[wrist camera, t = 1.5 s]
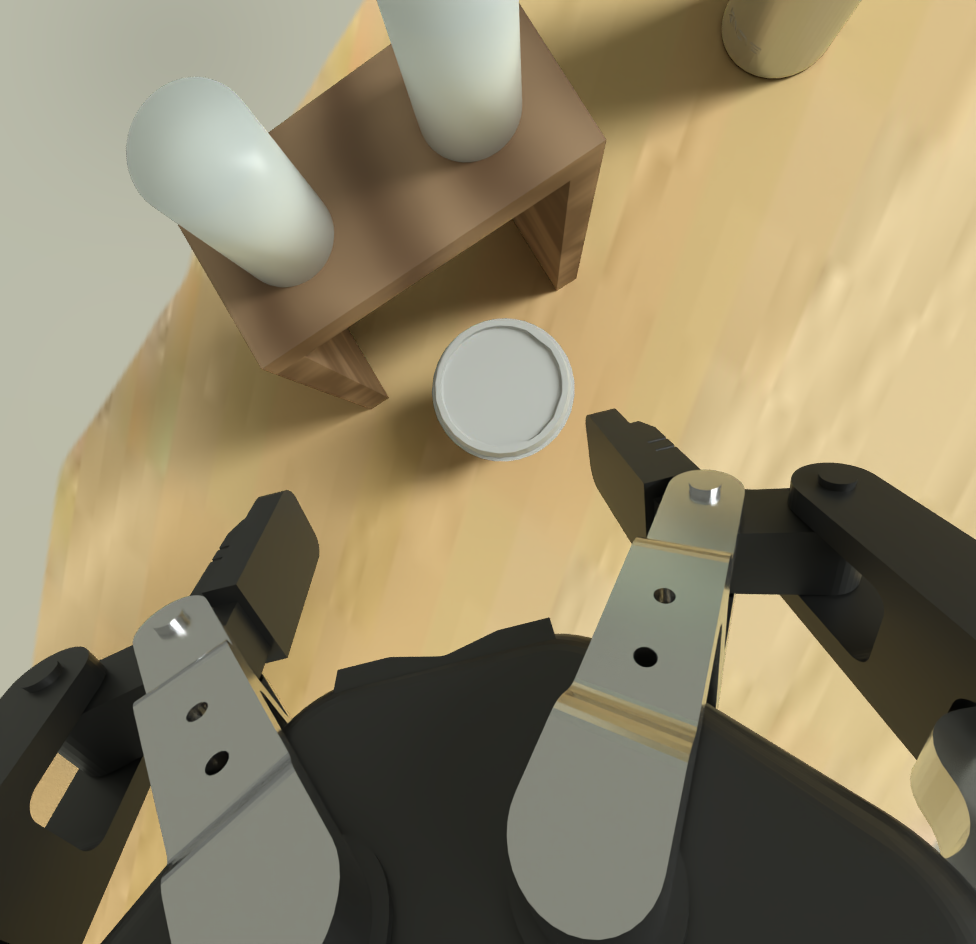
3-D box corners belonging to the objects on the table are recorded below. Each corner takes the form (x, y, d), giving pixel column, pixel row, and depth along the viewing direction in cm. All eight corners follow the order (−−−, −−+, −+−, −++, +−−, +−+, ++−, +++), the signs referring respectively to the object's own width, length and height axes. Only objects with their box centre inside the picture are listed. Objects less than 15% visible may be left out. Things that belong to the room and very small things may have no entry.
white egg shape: (487, 34, 24) (467, -145, 17) (542, 121, 24) (545, -24, 17) (398, 97, 24) (344, -52, 17) (451, 183, 24) (418, 66, 17)
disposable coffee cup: (445, 444, 42) (409, 434, 30) (477, 344, 41) (454, 294, 29) (544, 477, 41) (548, 480, 29) (578, 375, 40) (597, 336, 28)
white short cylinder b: (301, 165, 25) (212, 48, 18) (352, 250, 25) (281, 164, 18) (220, 223, 25) (102, 130, 19) (269, 306, 25) (168, 244, 18)
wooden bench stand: (512, 175, 41) (496, -33, 24) (576, 278, 40) (606, 139, 23) (312, 309, 43) (167, 205, 26) (370, 409, 42) (261, 368, 25)
